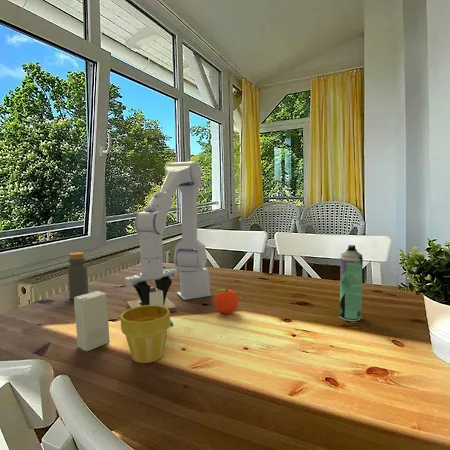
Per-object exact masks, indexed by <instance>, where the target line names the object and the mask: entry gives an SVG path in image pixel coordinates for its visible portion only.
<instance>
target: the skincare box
mask: <svg viewBox="0 0 450 450" xmlns="http://www.w3.org/2000/svg"><path fill="white" fill-rule="evenodd" d="M107 294H108V293H106V292H102V291H99V290H98V291H97V290H95V291H92V292H88V294H84V295H81V296H77V297H74V300H73V302H74V313H75V314H74V316H75V330H76V331H75V332H76V343H77V347H78V348H80V349H81V350H82V351H84V352H90V351H91V350H94V349H96V348H99V347H101V346H104V345H106V344H108V343H110V328H109V327H110V326H109V325H110V324H109V311H108V310H109V309H108V295H107Z"/></svg>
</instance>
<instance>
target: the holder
mask: <svg viewBox="0 0 450 450" xmlns="http://www.w3.org/2000/svg"><path fill="white" fill-rule="evenodd" d="M126 305H127V307H128V309H131V308H134V307H138V306H142V302H141V299H135V300H129V301H127V304H126ZM164 307H166V308H168V309H169V311H170V313H173V312H177V306H176V305H175V304H174V303H173V302H172V301H171V300H170V299H169V298H168V297H167V296H166V299H165V303H164Z"/></svg>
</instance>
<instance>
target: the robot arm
mask: <svg viewBox="0 0 450 450" xmlns="http://www.w3.org/2000/svg"><path fill="white" fill-rule="evenodd" d="M164 176H165V179H164V181H163V184H162V185H161V187H160V190H159V191H155V192H154V194H152V197H151V198H150V200H149V201H148V203H147V205H146V206H145V208H144V210H143V211H140V212H139V213H137V215H136V216H135V220H134V223H133V225H134V230H135V232H136V233H137V240H138V241H139V253H140V255H139V256H140V273H137V274H134V275H132V276H127V277H125V279H124V281H125V285H126V286H127V287H133V288H134V289H135V291H136V292H137V295H138V297H139V300H141V302H142V306H144V305H149V293H150V288H151V287H152V286H151V285H149V284H148V282H149V283H150V282H152V281H153V282H154V281H155V287H156V288H157V289H160V290H163V305H164V303H165V299H166V297H167V295H168V292H169V289H170V287H171V285H172V283H173V281H172V280H173V279H172V278H171V277H178V271H179V281H180V283H179V285H180V286H179V287H180V291H176V295H178V296H179V298H181V299H182V300H184V301H187V300H192V299H199V298H205V297H210V296H212V294H211V286H210V285H211V284H210V283H211V282H210V281H211V280H210V279H211V277H210V272H209V270H208V268H206V265H207V261H208V256H207V255H208V254H207V251H206V246H205V244H203V243H202V242H201V241H200V240H198V195H197V194H198V190H199V189H201V187H202V169H201V166H200V165H199V163H198V162H197V161H194V160H193V161H182V162H181V161H179V162H178V161H177V162H172V161H171V162H168V163H167V164H166V166H165V168H164ZM177 190H179V191H180V193H181V241H179V242H178V243H177V244H176V245H175V247H174V255H173V263H174V265H175V267H176V268H177V269H176V268H174V267H173V268H167V269H164V260H163V259H164V255H163V252H164V251H163V232H164V231H165V230H166V225H167V218H168V217H167V215H168V213H169V211H170V209H171V207H172V205H173V204H174V203H173V201H174V200H173V199H172V197H173V196H174V194H175V192H176V191H177Z"/></svg>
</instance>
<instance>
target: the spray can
mask: <svg viewBox="0 0 450 450" xmlns="http://www.w3.org/2000/svg"><path fill="white" fill-rule="evenodd" d="M363 261H364V258H363V254H362V253H360V252H358V249H356V245H355V244H349V245H348V248H347V249H346V250H345V251H344V252H343V253H341V254H340V279H339V280H340V283H339V319H340V318H342V319H344V320H348V321H357V320H360V319H361V320H362V305H363V304H362V302H363V301H362V299H363V298H362V297H363Z"/></svg>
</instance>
